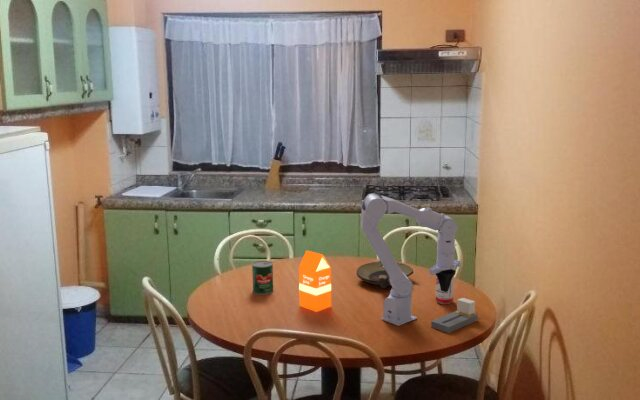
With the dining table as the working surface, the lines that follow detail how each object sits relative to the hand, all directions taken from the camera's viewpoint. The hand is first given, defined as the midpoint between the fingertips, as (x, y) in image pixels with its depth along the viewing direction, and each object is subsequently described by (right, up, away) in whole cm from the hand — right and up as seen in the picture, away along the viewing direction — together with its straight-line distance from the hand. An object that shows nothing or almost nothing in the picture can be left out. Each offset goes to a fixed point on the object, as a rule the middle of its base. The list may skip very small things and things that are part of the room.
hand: (444, 290), depth 212 cm
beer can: (+3, -7, +16) cm, 18 cm away
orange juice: (-44, -8, +13) cm, 46 cm away
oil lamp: (-18, -3, +38) cm, 42 cm away
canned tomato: (-64, -5, +30) cm, 71 cm away
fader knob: (+7, -7, 0) cm, 10 cm away
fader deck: (+3, -10, -4) cm, 11 cm away
